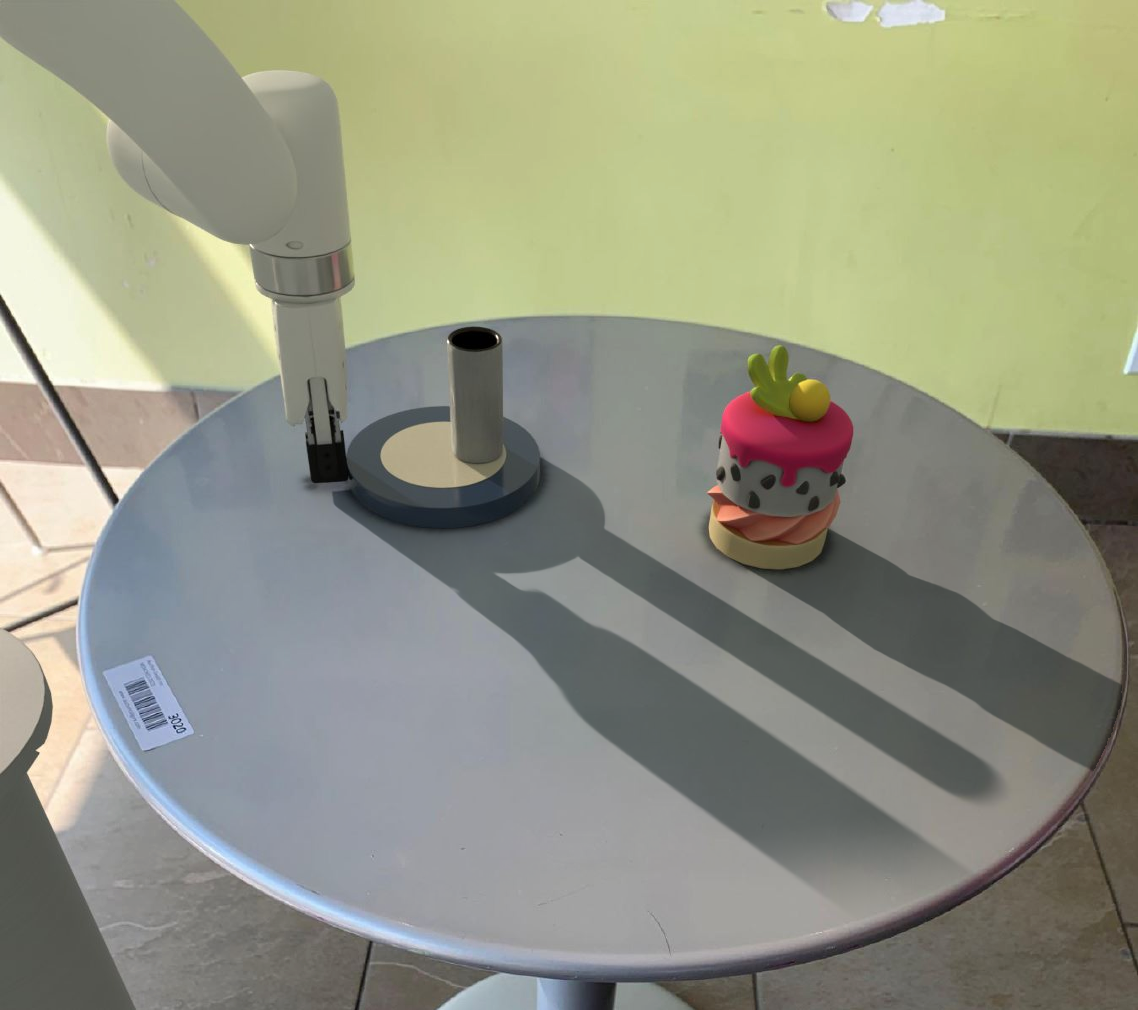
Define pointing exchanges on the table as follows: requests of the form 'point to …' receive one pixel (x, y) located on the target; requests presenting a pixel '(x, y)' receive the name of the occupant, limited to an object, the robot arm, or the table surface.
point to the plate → (438, 471)
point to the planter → (476, 393)
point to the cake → (778, 468)
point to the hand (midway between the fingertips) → (329, 477)
